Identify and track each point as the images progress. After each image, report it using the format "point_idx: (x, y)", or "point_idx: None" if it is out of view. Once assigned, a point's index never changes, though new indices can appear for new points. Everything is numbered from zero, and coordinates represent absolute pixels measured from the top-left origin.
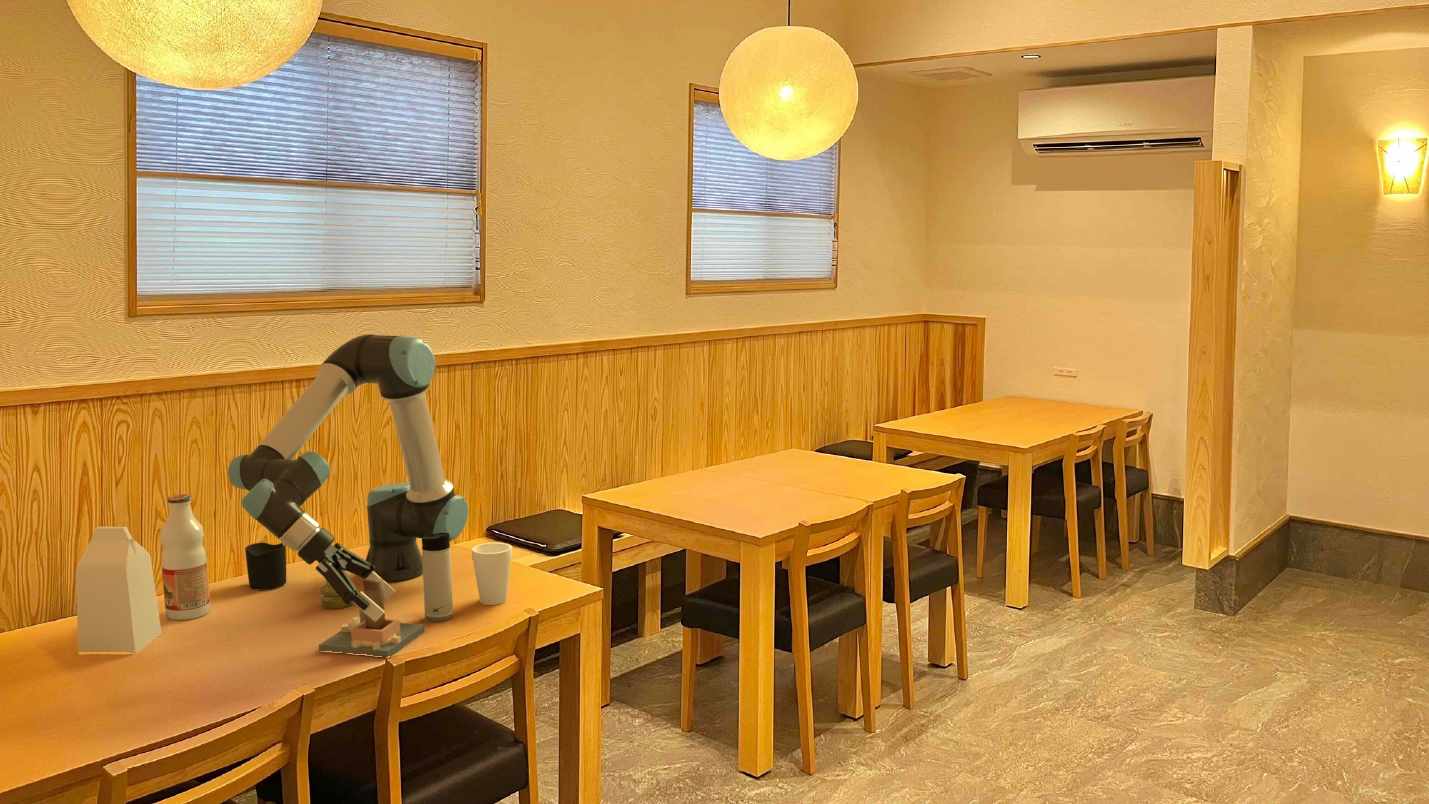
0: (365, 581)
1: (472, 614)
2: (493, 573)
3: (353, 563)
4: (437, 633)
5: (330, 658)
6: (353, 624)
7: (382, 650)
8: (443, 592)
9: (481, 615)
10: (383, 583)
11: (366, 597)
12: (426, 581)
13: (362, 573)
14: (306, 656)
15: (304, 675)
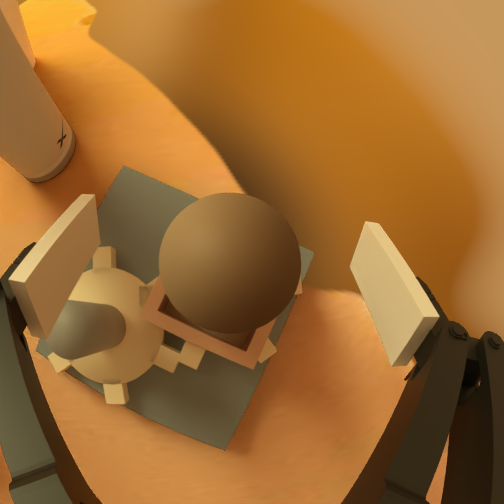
0: (239, 318)
1: (60, 91)
2: (16, 21)
3: (46, 436)
4: (149, 144)
5: (277, 407)
6: (108, 369)
7: (307, 266)
8: (46, 93)
9: (74, 76)
10: (68, 234)
11: (419, 286)
12: (8, 117)
13: (23, 348)
14: (250, 465)
15: (372, 436)
